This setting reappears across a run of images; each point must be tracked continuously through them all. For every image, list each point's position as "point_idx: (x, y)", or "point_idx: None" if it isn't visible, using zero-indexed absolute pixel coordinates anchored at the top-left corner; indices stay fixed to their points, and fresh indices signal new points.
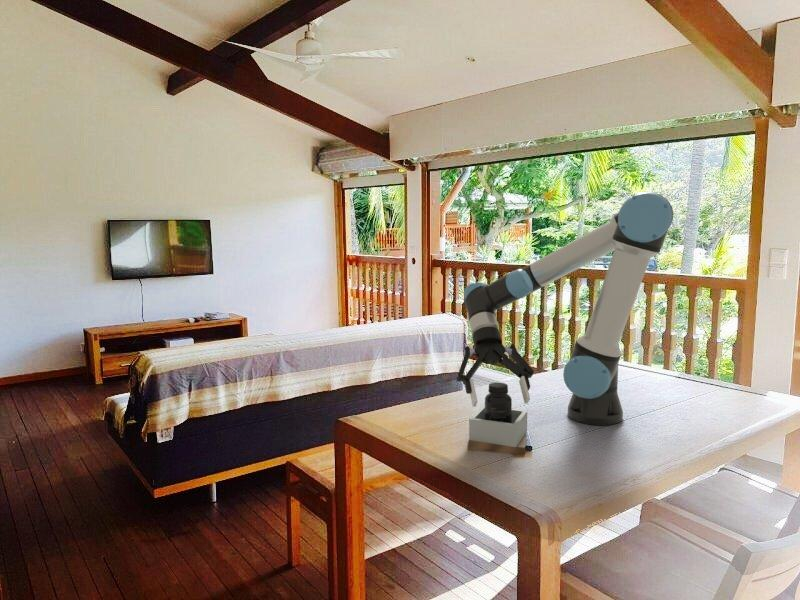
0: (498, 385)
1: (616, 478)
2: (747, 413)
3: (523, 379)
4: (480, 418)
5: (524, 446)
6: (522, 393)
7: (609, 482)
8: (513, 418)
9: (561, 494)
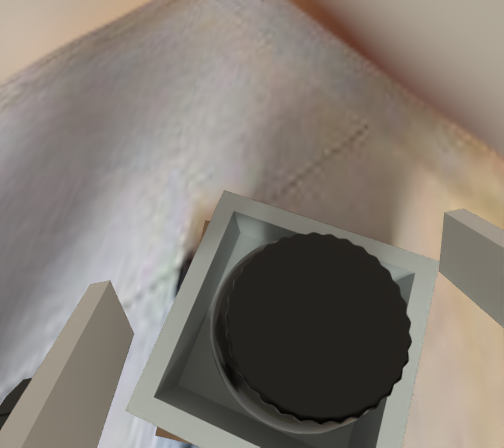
0: (314, 303)
1: (28, 106)
2: None
3: (18, 432)
4: None
5: (205, 228)
6: (111, 388)
7: (53, 88)
8: (209, 408)
9: (174, 36)
